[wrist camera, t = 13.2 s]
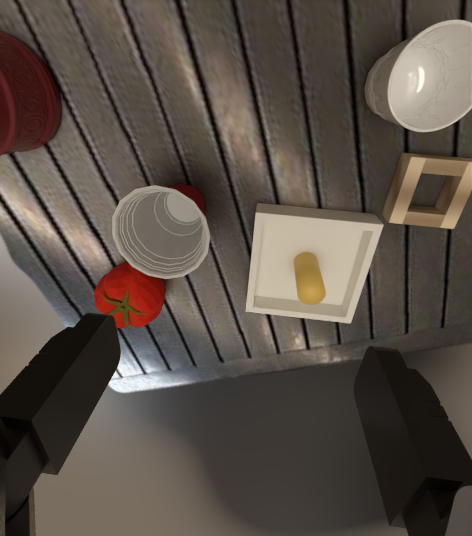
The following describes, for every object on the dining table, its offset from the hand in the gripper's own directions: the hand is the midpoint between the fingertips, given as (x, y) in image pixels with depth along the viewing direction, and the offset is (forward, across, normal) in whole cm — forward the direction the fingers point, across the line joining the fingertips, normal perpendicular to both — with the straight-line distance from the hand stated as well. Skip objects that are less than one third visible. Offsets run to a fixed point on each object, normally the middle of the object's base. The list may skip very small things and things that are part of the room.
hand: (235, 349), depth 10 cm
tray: (+34, -8, +14) cm, 38 cm away
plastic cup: (+34, +10, +7) cm, 36 cm away
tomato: (+34, +18, +21) cm, 44 cm away
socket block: (+34, -21, +2) cm, 40 cm away
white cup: (+34, -14, -9) cm, 38 cm away
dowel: (+33, -8, +14) cm, 37 cm away
